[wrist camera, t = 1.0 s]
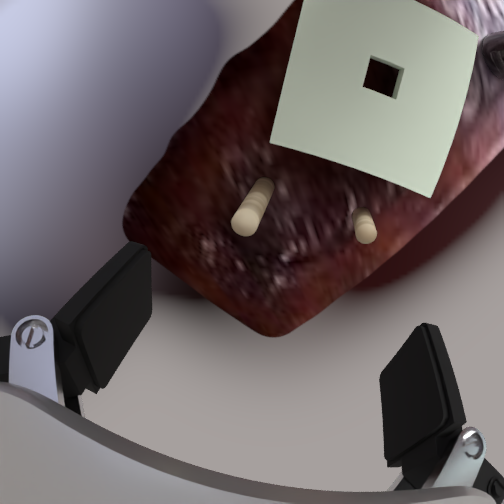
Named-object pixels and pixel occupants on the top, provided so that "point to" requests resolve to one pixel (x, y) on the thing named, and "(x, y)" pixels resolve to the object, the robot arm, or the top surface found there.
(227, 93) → the top surface
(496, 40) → the supplement bottle
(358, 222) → the short birch pin
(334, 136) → the plate
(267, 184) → the long birch pin
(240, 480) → the robot arm
